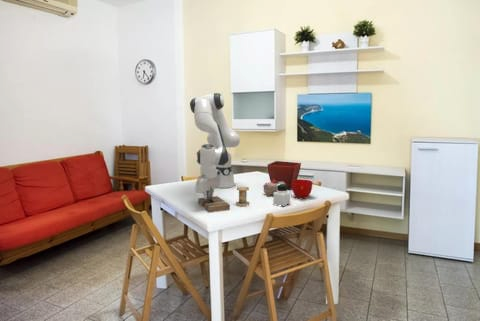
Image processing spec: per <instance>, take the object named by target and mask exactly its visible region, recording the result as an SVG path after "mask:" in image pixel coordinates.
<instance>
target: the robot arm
mask: <svg viewBox="0 0 480 321" xmlns="http://www.w3.org/2000/svg"><path fill="white" fill-rule="evenodd" d="M224 105H225V99H224V97H223V95H222V94H221V93H219V92H214V93H209V94H204V95H201V96H197V97H195V98H194V97H193V98H192V99H191V100H190V102H189V108H190V111H191V113H192V114H193V116H194V118H193V119H194V124H195V127H196V128H197V129H198V130H200V131H202V132H204V133H208V134H207V136H206V137H207V138H206V140H207V143H206V144H205V143H204V144H202V145H201V146H200V149H199V150H198V151H197V152H196V162H197V163H198V165H200V170H199V172H200V173H199V174H200V175H199V176H198V178H197V180H196V182H195V192H196V193H197V194H202V195H203V198H204V199H207V198H208V195H207V194H206V193H207V191H208V190H210V185H212V197H214V191H215V189H216V188H217V189H218V188H219V189H222V188H223V189H226V188H228V189H229V188H233V187H234V186H236V185H237V184H236V182H235V176H234V173H233V172H232V171H233V167H232V155H231V153H229V152H228V150H227V148H229V149H230V148H236V147H238V146H239V145H240V142H241V137H240V135H239V134H238V133H237V132H235V131H234V130H233V129H232V128H231V127H230V126H229V123H228V122H227V121H226V120H227V119H226V118H225V115H224V113H223V108H224Z"/></svg>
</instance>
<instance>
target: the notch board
mask: <svg viewBox="0 0 480 321" xmlns="http://www.w3.org/2000/svg"><path fill="white" fill-rule="evenodd" d="M197 200H198V201H197V202H198V205H200V206H202V207H204V208H205V210H206V211H208V212H209V213H215V211H216V212H222V211H223V212H224V211H230V210H231V208H230V206H231V205H230V204H229V203H228V202H227V201H225V200H223V198H221V197H219V196H217V195H215V196H214V195H213V196H212V203H207V204H205V199H204V197H198V199H197ZM208 212H207V213H208Z"/></svg>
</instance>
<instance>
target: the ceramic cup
mask: <svg viewBox="0 0 480 321" xmlns="http://www.w3.org/2000/svg"><path fill="white" fill-rule="evenodd" d="M312 189H313V180H308V179H297V180H293V181H292V188H291V190H292V193H293V194H294V196H295V197H296V198H297V197H298V199H307V198H308V197H309V196H310V195H311V192H312ZM306 197H307V198H306Z"/></svg>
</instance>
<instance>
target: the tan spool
mask: <svg viewBox="0 0 480 321" xmlns="http://www.w3.org/2000/svg"><path fill="white" fill-rule="evenodd" d="M236 190H237V191H238V201H236V202H235V206H237V205H238V206H237V207H248V206H250V205H249V204H250V202H249V201H247V196H248V195H247V191H249V190H250V187H249V186H243V185H242V186H237V187H236ZM247 205H248V206H247Z"/></svg>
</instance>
